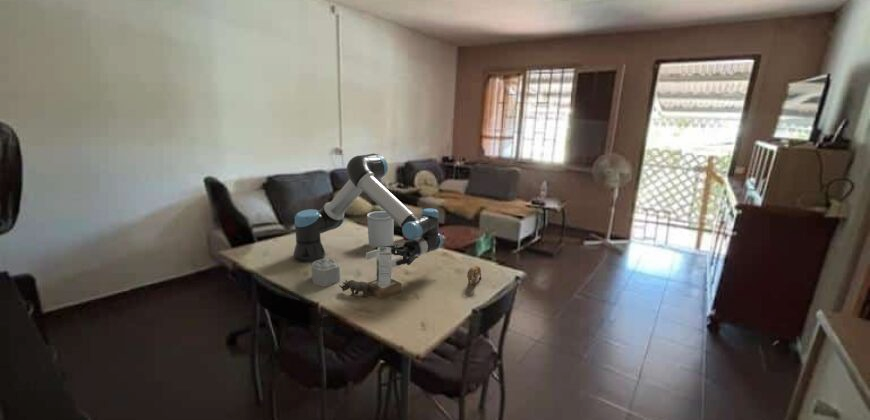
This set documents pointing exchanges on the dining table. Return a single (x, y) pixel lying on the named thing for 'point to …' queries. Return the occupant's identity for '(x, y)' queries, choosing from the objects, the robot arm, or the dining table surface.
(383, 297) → the walnut plinth
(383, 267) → the syrup box
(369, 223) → the utensil holder
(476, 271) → the lion figurine
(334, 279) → the lumpy-topped squat cylinder
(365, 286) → the rhino figurine
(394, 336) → the dining table surface
